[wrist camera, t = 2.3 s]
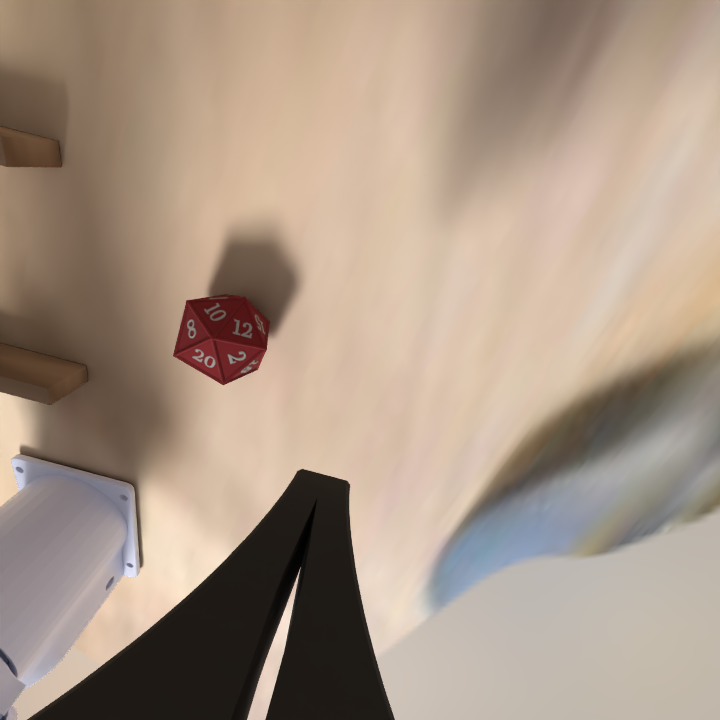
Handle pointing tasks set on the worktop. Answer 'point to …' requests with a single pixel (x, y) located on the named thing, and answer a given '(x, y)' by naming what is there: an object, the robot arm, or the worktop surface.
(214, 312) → the dice
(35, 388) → the tray frame
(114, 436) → the worktop surface
